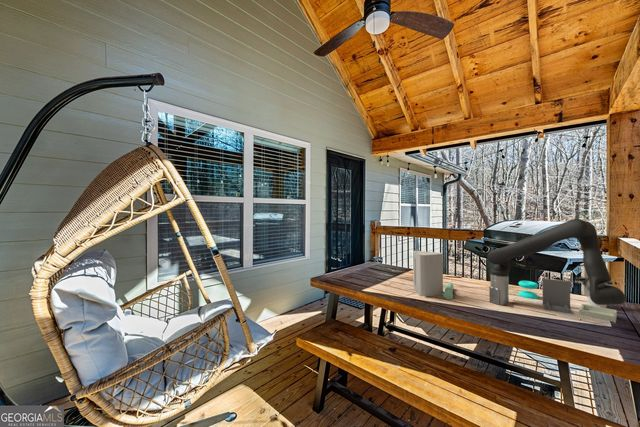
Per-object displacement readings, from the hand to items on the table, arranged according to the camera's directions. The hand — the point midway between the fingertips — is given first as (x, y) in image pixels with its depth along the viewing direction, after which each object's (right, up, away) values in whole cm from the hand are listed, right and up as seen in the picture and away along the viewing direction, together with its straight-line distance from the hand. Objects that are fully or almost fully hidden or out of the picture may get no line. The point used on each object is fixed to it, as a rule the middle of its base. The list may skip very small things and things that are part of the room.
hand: (588, 279), depth 142 cm
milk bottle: (+18, -19, +13) cm, 30 cm away
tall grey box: (-71, -21, +41) cm, 84 cm away
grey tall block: (-1, -8, -2) cm, 8 cm away
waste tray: (+4, -20, -1) cm, 20 cm away
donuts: (-9, -20, +30) cm, 37 cm away
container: (-55, -21, +41) cm, 71 cm away
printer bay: (-9, -20, +8) cm, 23 cm away
